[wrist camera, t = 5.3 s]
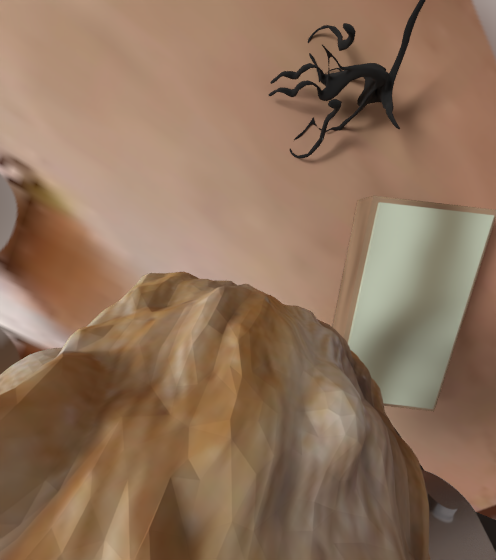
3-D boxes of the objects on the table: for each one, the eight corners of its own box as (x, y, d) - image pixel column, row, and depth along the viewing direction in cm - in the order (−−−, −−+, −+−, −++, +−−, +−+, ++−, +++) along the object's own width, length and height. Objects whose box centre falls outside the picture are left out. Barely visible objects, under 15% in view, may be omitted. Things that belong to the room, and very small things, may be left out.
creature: (265, 160, 18) (375, 168, 17) (247, 129, 13) (405, 136, 11) (282, 41, 17) (406, 37, 15) (270, -47, 12) (456, -69, 10)
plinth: (321, 379, 21) (331, 401, 18) (357, 200, 18) (375, 194, 15) (415, 391, 21) (438, 414, 18) (467, 213, 17) (505, 209, 15)
